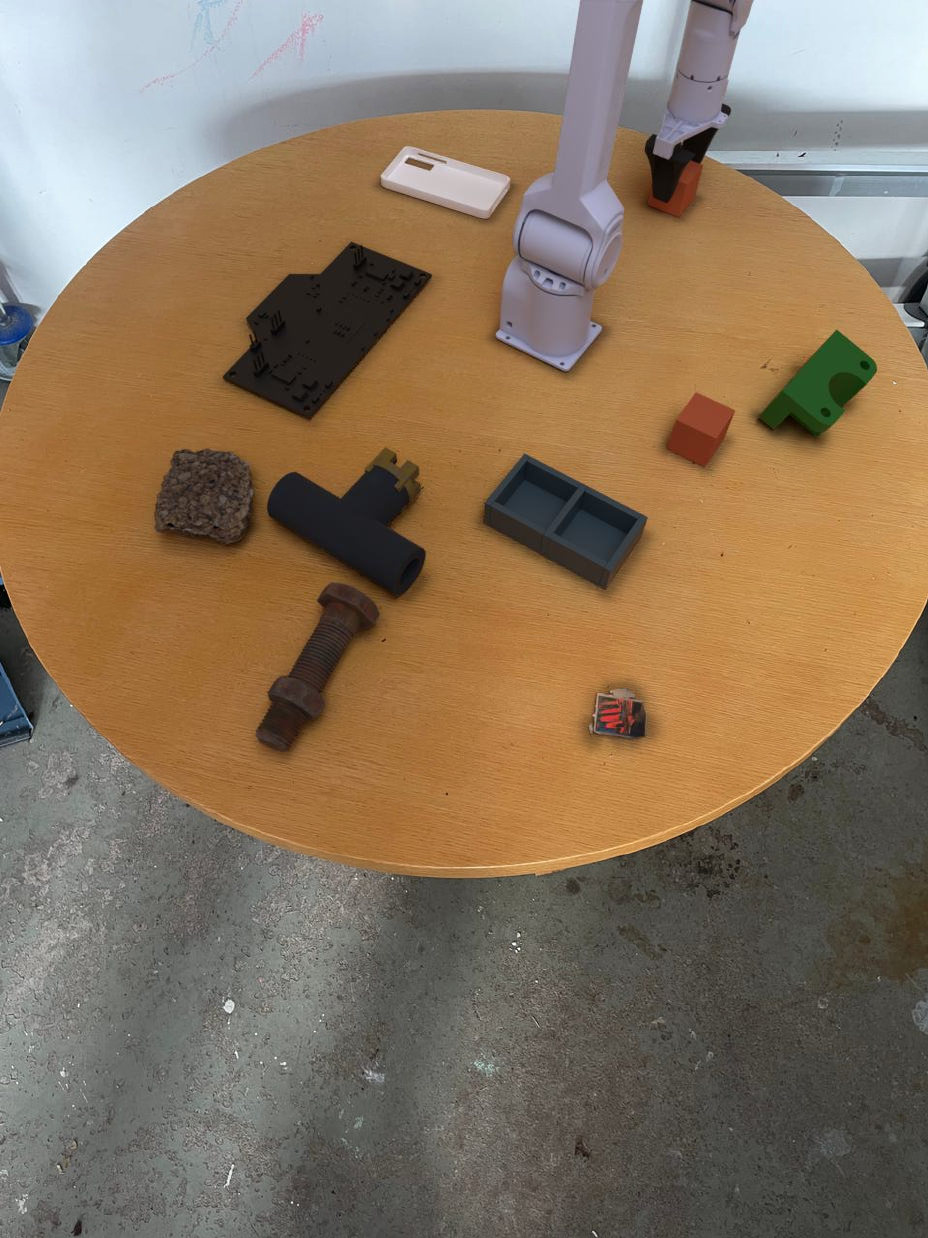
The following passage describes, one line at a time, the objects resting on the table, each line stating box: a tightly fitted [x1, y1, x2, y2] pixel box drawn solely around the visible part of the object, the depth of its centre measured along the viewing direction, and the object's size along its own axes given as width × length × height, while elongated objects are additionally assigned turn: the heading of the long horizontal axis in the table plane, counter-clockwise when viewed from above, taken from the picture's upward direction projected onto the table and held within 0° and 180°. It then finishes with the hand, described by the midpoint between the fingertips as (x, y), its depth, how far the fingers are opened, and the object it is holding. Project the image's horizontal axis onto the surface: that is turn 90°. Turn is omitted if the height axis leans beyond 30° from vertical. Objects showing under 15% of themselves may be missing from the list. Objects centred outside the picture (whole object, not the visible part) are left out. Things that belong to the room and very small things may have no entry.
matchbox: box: [588, 687, 648, 739], centre depth 75 cm, size 5×5×1 cm
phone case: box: [380, 145, 511, 220], centre depth 109 cm, size 7×1×15 cm
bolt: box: [254, 582, 381, 753], centre depth 75 cm, size 6×5×15 cm
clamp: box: [757, 328, 878, 438], centre depth 90 cm, size 12×6×9 cm, turn 134°
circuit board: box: [222, 241, 433, 420], centre depth 97 cm, size 25×14×3 cm, turn 150°
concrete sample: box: [153, 448, 255, 547], centre depth 83 cm, size 12×10×5 cm
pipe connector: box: [266, 446, 427, 597], centre depth 83 cm, size 12×5×15 cm
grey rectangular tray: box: [483, 453, 649, 591], centre depth 83 cm, size 14×7×3 cm, turn 56°
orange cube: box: [647, 160, 704, 218], centre depth 107 cm, size 4×4×4 cm
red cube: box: [666, 391, 736, 468], centre depth 88 cm, size 4×4×4 cm
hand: (675, 182), depth 106 cm, fingers open, 7 cm apart
